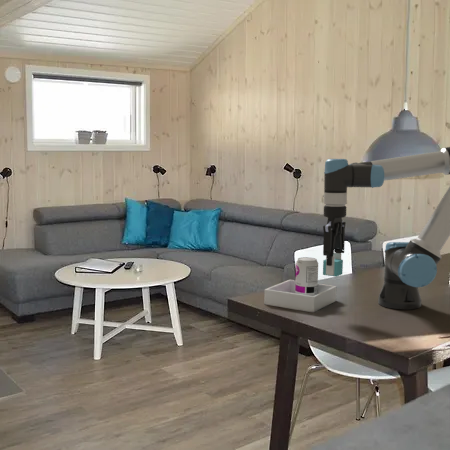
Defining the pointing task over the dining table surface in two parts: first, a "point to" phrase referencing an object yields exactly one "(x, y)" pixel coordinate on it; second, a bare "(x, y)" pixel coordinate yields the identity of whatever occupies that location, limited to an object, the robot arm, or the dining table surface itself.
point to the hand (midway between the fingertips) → (333, 273)
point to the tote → (299, 297)
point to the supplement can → (306, 276)
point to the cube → (337, 267)
